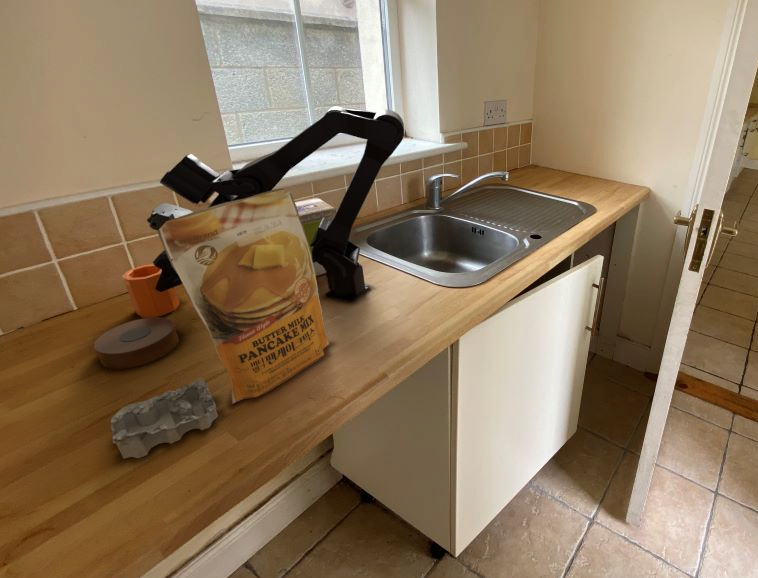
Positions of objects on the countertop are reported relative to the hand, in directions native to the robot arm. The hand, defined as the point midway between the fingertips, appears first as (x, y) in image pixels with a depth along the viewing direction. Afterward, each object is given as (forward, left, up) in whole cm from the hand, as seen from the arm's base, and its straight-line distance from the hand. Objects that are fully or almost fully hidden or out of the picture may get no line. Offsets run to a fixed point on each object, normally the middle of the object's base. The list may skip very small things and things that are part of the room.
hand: (170, 278), depth 83 cm
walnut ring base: (-6, +12, -6) cm, 15 cm away
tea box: (-11, -20, -6) cm, 24 cm away
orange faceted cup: (+3, +2, -6) cm, 7 cm away
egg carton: (-26, +23, -6) cm, 35 cm away
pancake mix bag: (-31, +9, -6) cm, 33 cm away
